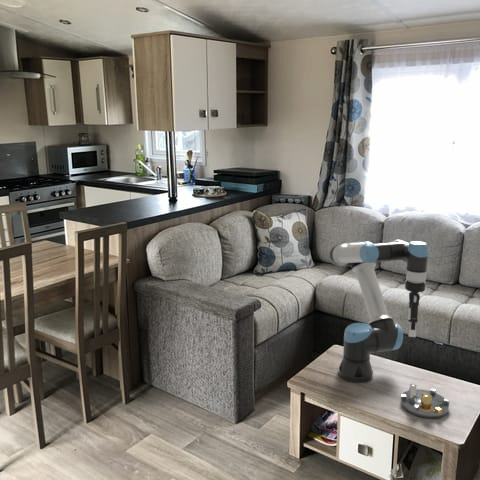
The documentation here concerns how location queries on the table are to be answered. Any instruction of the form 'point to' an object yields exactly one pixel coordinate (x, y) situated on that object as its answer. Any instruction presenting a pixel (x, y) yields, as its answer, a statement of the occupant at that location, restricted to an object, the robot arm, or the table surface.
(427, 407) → the roller
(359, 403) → the table surface
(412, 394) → the dark grey round base
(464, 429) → the table surface
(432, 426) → the table surface
